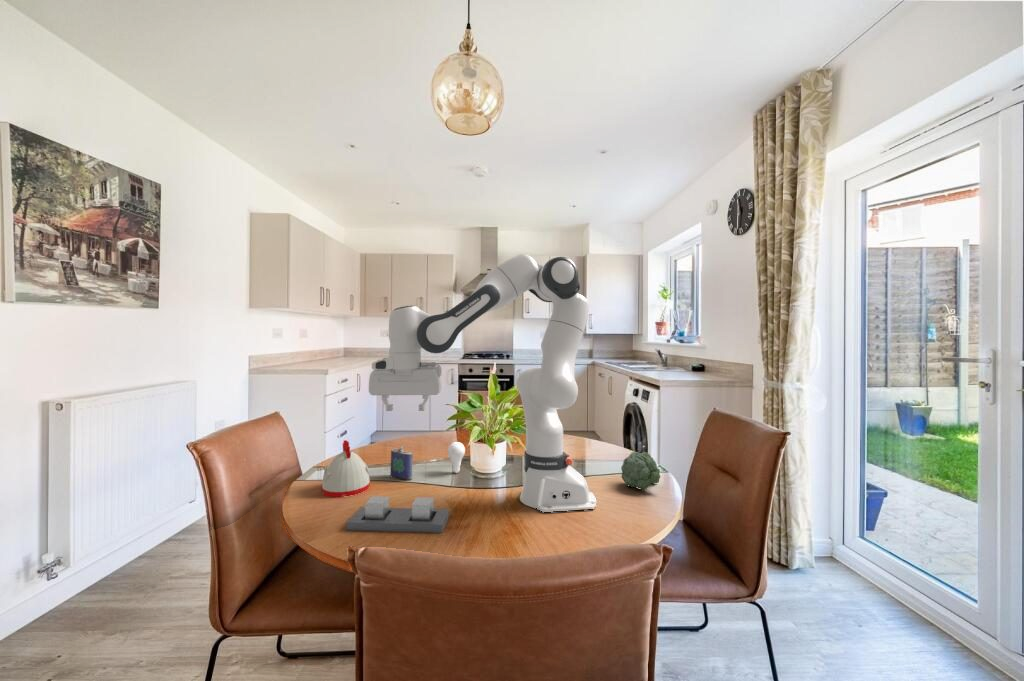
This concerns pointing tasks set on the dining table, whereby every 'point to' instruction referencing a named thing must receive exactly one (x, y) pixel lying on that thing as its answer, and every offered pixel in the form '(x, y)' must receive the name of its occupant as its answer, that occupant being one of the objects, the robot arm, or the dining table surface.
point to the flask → (401, 464)
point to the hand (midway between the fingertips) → (405, 410)
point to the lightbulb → (456, 455)
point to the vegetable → (640, 470)
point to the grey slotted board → (398, 521)
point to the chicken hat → (345, 474)
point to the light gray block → (423, 509)
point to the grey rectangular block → (377, 508)
